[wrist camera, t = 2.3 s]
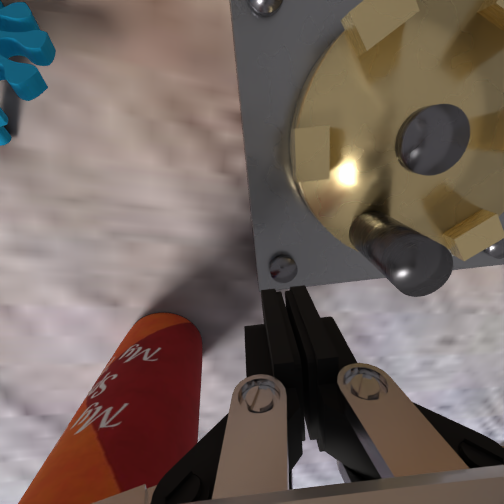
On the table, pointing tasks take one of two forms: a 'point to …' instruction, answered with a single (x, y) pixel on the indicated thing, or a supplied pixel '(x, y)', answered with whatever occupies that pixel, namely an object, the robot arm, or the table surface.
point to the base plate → (278, 143)
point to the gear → (24, 44)
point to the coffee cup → (129, 417)
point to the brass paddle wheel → (407, 136)
